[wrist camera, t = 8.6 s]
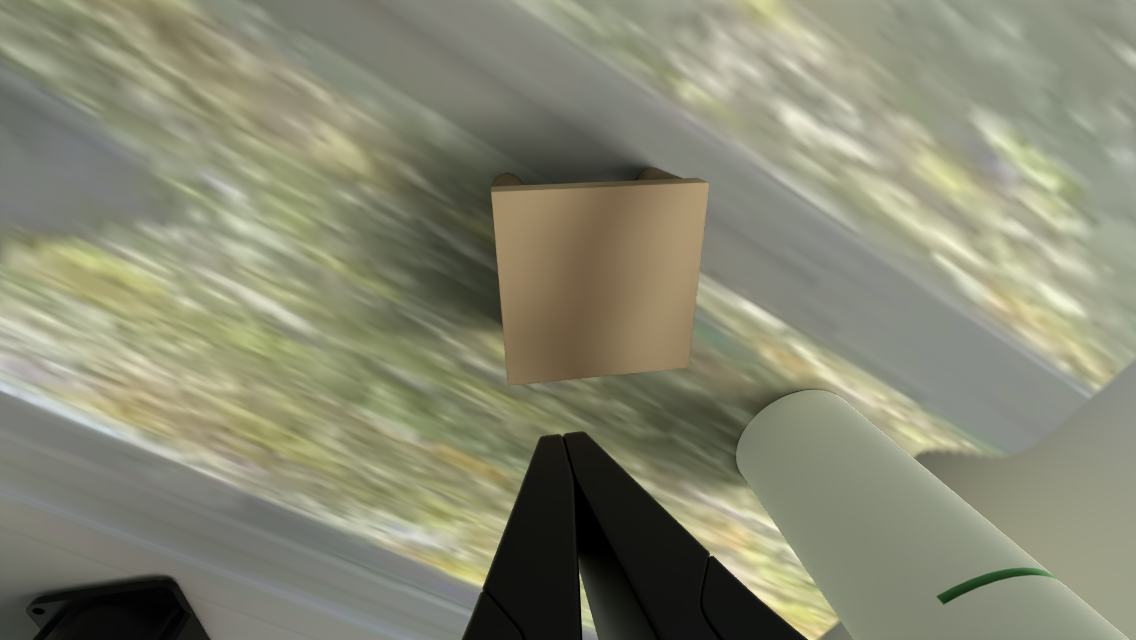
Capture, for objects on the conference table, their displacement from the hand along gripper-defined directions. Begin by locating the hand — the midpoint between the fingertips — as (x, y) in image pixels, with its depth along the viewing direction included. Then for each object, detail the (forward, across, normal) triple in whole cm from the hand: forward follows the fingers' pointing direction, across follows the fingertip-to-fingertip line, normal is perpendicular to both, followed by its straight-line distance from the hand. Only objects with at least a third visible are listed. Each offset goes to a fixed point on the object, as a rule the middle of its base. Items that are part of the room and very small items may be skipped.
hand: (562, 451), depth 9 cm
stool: (+12, -2, 0) cm, 12 cm away
